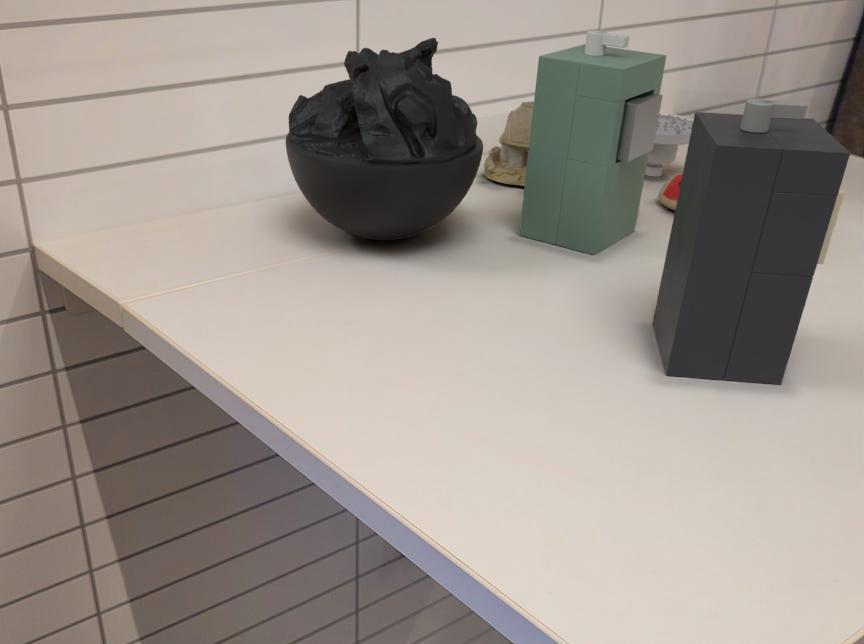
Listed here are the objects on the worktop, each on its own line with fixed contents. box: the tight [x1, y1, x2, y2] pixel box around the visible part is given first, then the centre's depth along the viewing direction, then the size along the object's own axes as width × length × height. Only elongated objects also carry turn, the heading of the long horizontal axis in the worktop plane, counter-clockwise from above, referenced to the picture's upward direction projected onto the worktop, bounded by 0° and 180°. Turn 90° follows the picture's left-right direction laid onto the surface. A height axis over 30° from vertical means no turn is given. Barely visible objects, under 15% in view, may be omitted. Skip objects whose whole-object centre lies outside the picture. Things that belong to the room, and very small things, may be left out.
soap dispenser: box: [518, 30, 667, 256], centre depth 97 cm, size 9×10×20 cm
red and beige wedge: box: [657, 173, 683, 212], centre depth 110 cm, size 7×10×4 cm
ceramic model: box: [483, 101, 534, 187], centre depth 116 cm, size 14×11×10 cm
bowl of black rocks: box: [285, 37, 484, 241], centre depth 95 cm, size 20×20×19 cm
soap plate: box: [616, 93, 663, 162], centre depth 94 cm, size 1×6×5 cm, turn 143°
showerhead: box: [645, 113, 693, 178], centre depth 121 cm, size 9×7×10 cm
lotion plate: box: [817, 188, 845, 265], centre depth 72 cm, size 1×6×5 cm, turn 173°
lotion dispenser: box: [651, 98, 851, 385], centre depth 73 cm, size 9×10×20 cm
